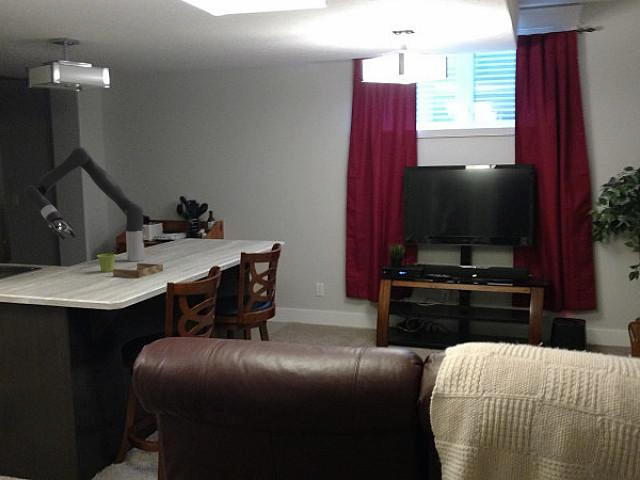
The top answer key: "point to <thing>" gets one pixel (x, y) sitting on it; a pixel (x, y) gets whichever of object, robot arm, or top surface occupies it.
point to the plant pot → (106, 262)
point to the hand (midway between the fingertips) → (69, 237)
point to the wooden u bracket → (139, 270)
